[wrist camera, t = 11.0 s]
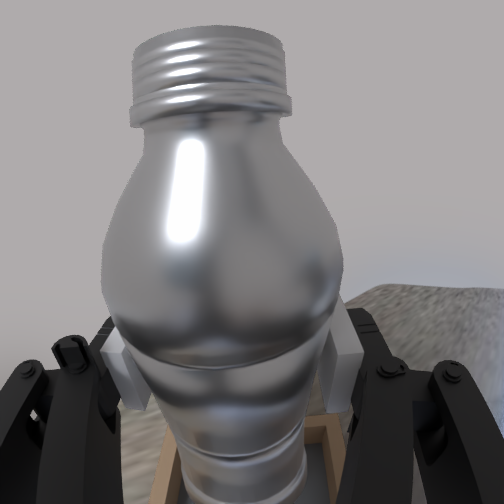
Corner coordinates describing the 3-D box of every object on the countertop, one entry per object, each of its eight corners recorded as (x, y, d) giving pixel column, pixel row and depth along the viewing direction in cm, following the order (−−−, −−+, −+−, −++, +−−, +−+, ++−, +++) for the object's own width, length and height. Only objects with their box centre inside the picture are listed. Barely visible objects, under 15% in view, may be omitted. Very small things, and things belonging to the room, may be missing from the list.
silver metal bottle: (173, 509, 12) (14, 78, 4) (221, 432, 17) (177, 85, 10) (281, 546, 9) (321, -47, 2) (315, 456, 15) (353, 69, 8)
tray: (330, 429, 20) (336, 408, 19) (351, 563, 9) (364, 558, 8) (180, 430, 20) (171, 409, 19) (153, 561, 9) (137, 554, 8)
